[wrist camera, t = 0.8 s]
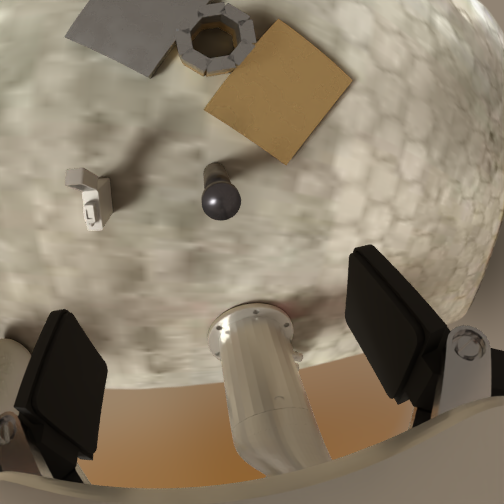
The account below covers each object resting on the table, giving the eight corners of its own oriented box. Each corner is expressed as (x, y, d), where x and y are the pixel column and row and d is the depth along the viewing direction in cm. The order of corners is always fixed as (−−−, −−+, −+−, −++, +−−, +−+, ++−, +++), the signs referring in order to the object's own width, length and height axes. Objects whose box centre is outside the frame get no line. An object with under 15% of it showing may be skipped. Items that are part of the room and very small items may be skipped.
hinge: (346, 80, 26) (370, 80, 22) (282, 162, 30) (296, 174, 26) (139, -47, 15) (131, -67, 11) (69, 39, 19) (49, 31, 14)
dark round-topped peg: (234, 169, 30) (248, 196, 22) (218, 192, 31) (226, 226, 23) (211, 154, 28) (216, 176, 21) (195, 178, 29) (194, 208, 22)
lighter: (113, 213, 30) (91, 248, 23) (99, 214, 29) (75, 249, 22) (108, 150, 26) (80, 169, 19) (93, 151, 26) (62, 171, 19)
